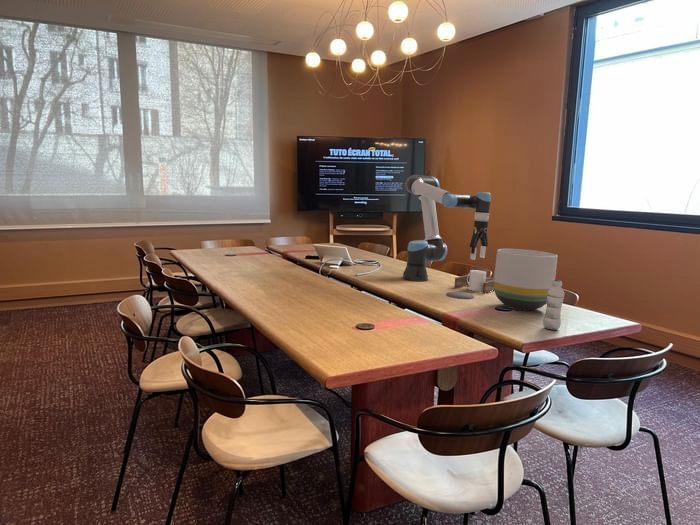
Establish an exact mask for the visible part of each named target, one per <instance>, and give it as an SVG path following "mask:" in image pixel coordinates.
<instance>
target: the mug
mask: <svg viewBox="0 0 700 525" xmlns="http://www.w3.org/2000/svg"><path fill="white" fill-rule="evenodd" d="M467 275H468V276H467V283H468V289H469V290H470V291H471V290H472V292H477V291H482V292H483V283H484V282H485V279H486V277H487V271H484V270H478V269H477V270H476V269H470V270H469V273H468V274H467ZM469 276H470V279H469V282H468V277H469Z"/></svg>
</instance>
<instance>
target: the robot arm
mask: <svg viewBox="0 0 700 525" xmlns="http://www.w3.org/2000/svg"><path fill="white" fill-rule="evenodd" d="M404 185H405V189H406V191H407V192H408V193H410V194H412V195H415V196H417V198H418V199H419V201H420V203H421V211H422V212H421V213H422V220H423V225H424V226H423V227H424V228H423V229H424V235H425V238H424V239H423V240H422V239H416V240H411V241H409V242H408V245H407V252H406V253H407V258H406V267H405V269H404V271H403V274H402V279H404V280H407V281H414V282H425V281H426V282H427V281H428V280H429V279H428V278H429V275H428V272H427V262H439V261H443V260H445V258H446V257H447V255H448V246H447V244H446V243H445V242H443V238H442V237H441V236H440V231H439V224H438V221H439V220H438V216H437V215H438V214H437V206H436V203H439V204H442V206H443V207H445V208H449V209H473V210H474V218H473V219H474V221H473V227H474V228H476V229H473V231H472V232H473V233H472V236H471V238H470V243H469V248H470V258H469V259H470V260H473V261H476V256H477V245H478V243H479V241H480V244H481V246H480V250H479V258H482V259H485V257H486V250H487V247H488V246H489V241H488V228H489V218H490V208H491V201H492V194H491V193H490V192H485V191H478V192H477V193H476V195H473V194H458V193H457V194H456V193H454V192H450V191H447V190H445V189H442V188H441V187H440V186H441V184H440V182H439V180H438V178H436V177H435V176H431V175H420V174H413V175H410V176H409V177H408V178H407V179H406V181H405V184H404Z"/></svg>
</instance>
